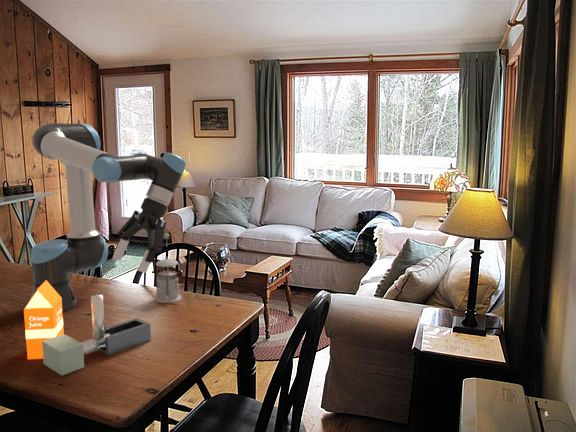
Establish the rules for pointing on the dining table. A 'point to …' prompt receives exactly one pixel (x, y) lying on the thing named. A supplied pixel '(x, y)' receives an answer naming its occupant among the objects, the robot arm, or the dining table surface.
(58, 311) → the orange juice
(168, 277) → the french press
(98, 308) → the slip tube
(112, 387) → the dining table surface
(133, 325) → the gray open box
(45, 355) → the grey-green block
